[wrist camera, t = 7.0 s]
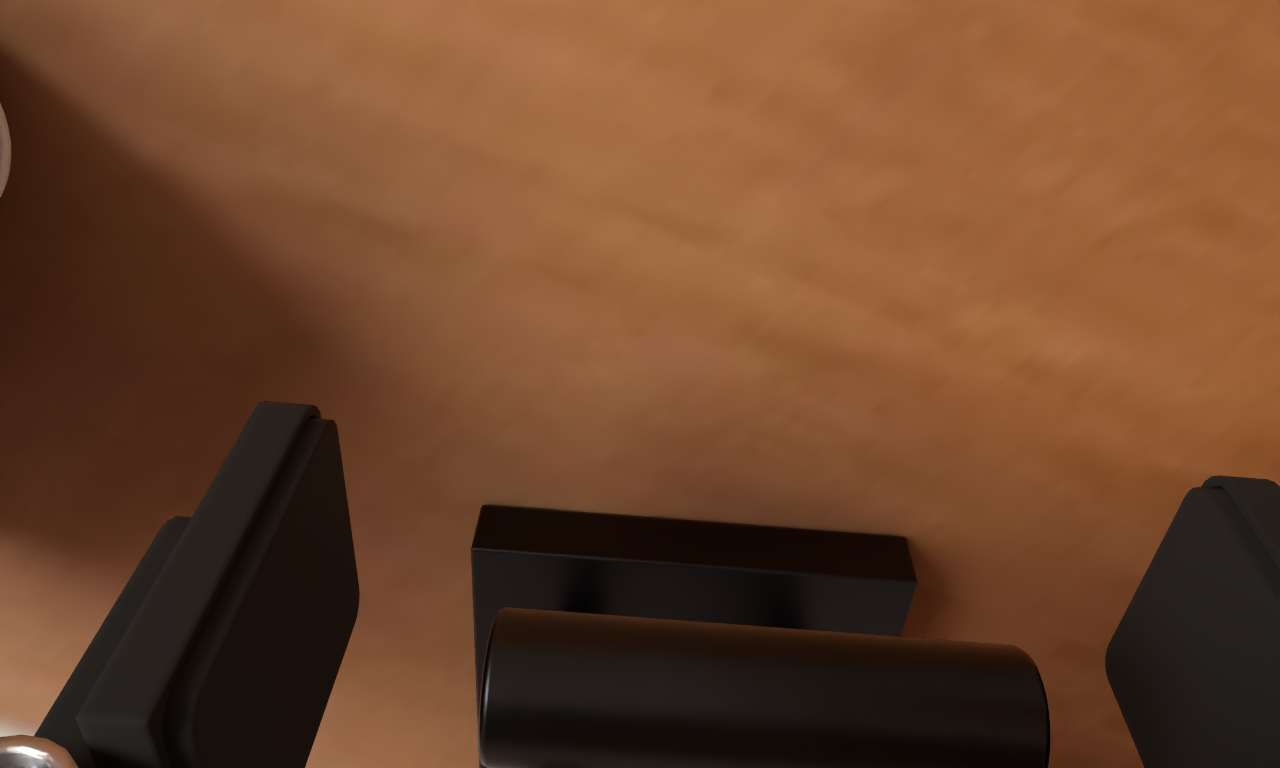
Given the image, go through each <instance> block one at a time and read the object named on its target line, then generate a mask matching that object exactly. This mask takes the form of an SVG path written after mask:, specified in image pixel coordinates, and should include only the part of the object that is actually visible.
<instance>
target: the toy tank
mask: <svg viewBox="0 0 1280 768" xmlns="http://www.w3.org/2000/svg"><path fill="white" fill-rule="evenodd" d="M10 166H11V140H10V133H9V128H8V124H7V120H6V117H5V113H4V111H3V108H2V105H1V103H0V197H1V195H2V193H3V191H4V189H5V186H6V183H7V180H8V176H9V172H10Z"/></svg>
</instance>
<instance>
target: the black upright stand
mask: <svg viewBox="0 0 1280 768" xmlns="http://www.w3.org/2000/svg"><path fill="white" fill-rule="evenodd" d="M471 562H472V588H473V614H474V640H475V666H476V691H477V717H478V715H479V702H480V691H481V682H482V674H483V667H484V660H485V654H486V648H487V643H488V638H489V633H490V629H491V626H492V623H493V620H494V618H495V616H496V614H497V612H498V610H500V609H503V608H506V607H509V608H523V609H536V610H549V611H563V612H576V613H590V614H603V615H616V616H630V617H643V618H656V619H670V620H683V621H696V622H710V623H723V624H736V625H750V626H763V627H777V628H790V629H803V630H817V631H830V632H843V633H857V634H870V635H883V636H897V637H900V636H901V633H902V630H903V627H904V624H905V621H906V618H907V615H908V612H909V608H910V605H911V602H912V599H913V596H914V593H915V590H916V587H917V584H918V581H917V577H916V573H915V569H914V565H913V562H912V558H911V554H910V550H909V546H908V542H907V539H906V538H905V537H899V536H886V535H873V534H859V533H846V532H833V531H820V530H807V529H794V528H780V527H767V526H754V525H741V524H728V523H715V522H701V521H688V520H675V519H662V518H649V517H635V516H622V515H609V514H596V513H583V512H570V511H556V510H543V509H530V508H517V507H504V506H491V505H483V506H482V507H481V510H480V514H479V518H478V522H477V526H476V530H475V534H474V538H473V543H472V547H471ZM479 768H487V767H486V766H484V765H482V764H481V761H480V757H479Z"/></svg>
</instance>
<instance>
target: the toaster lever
mask: <svg viewBox="0 0 1280 768" xmlns="http://www.w3.org/2000/svg"><path fill="white" fill-rule="evenodd" d="M478 752H479V757H480V761H481V764H482V765H484V766H486V767H487V768H1048V763H1049V755H1050V719H1049V710H1048V703H1047V698H1046V693H1045V689H1044V685H1043V682H1042V679H1041V676H1040V673H1039V671H1038V669H1037V666H1036V665H1035V663H1034V661H1033V660H1032V658H1031V657H1030V655H1029V654H1027V653H1026V652H1025V651H1024V650H1022V649H1020V648H1018V647H1016V646H1013V645H1004V644H990V643H977V642H963V641H950V640H937V639H923V638H910V637H897V636H883V635H870V634H857V633H843V632H830V631H817V630H803V629H790V628H777V627H763V626H750V625H736V624H723V623H710V622H696V621H683V620H670V619H656V618H643V617H630V616H616V615H603V614H590V613H576V612H563V611H549V610H536V609H523V608H509V607H506V608H503V609H500V610H498V612H497V614H496V616H495V618H494V620H493V623H492V626H491V629H490V633H489V638H488V643H487V648H486V654H485V660H484V667H483V674H482V682H481V691H480V702H479V715H478Z"/></svg>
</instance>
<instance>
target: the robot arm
mask: <svg viewBox="0 0 1280 768" xmlns="http://www.w3.org/2000/svg"><path fill="white" fill-rule="evenodd" d="M358 607H359V583H358V576H357V568H356V561H355V554H354V546H353V539H352V532H351V524H350V517H349V510H348V502H347V495H346V488H345V480H344V473H343V466H342V458H341V451H340V444H339V436H338V430H337V425H336V423H335V421H333V420H327V419H321V415H320V411H319V410H318V408H317V407H316V406H314V405H306V404H293V403H280V402H267V401H264V402H261V403H259V405H258V406H257V407H256V409H255V410H254V412H253V413H252V415H251V417H250V419H249V420H248V422H247V424H246V425H245V427H244V429H243V431H242V432H241V434H240V436H239V437H238V439H237V441H236V443H235V444H234V446H233V448H232V449H231V451H230V453H229V455H228V456H227V458H226V460H225V462H224V463H223V465H222V467H221V468H220V470H219V472H218V474H217V475H216V477H215V479H214V480H213V482H212V484H211V486H210V487H209V489H208V491H207V492H206V494H205V496H204V498H203V499H202V501H201V503H200V504H199V506H198V508H197V510H196V511H195V513H194V515H193V516H192V517H181V516H175V517H174V518H172V519H170V520H169V521H167V522H166V523H165V525H164V526H163V527H162V529H161V530H160V531H159V532H158V534H157V536H156V537H155V539H154V540H153V542H152V544H151V545H150V547H149V549H148V550H147V552H146V554H145V555H144V557H143V558H142V560H141V562H140V563H139V565H138V567H137V568H136V570H135V572H134V573H133V575H132V577H131V578H130V580H129V581H128V583H127V585H126V586H125V588H124V590H123V591H122V593H121V595H120V596H119V598H118V599H117V601H116V603H115V604H114V606H113V608H112V609H111V611H110V613H109V614H108V616H107V617H106V619H105V621H104V622H103V624H102V626H101V627H100V629H99V631H98V632H97V634H96V635H95V637H94V639H93V640H92V642H91V644H90V645H89V647H88V649H87V650H86V652H85V653H84V655H83V657H82V658H81V660H80V662H79V663H78V665H77V667H76V668H75V670H74V671H73V673H72V675H71V676H70V678H69V680H68V681H67V683H66V685H65V686H64V688H63V689H62V691H61V693H60V694H59V696H58V698H57V699H56V701H55V703H54V704H53V706H52V707H51V709H50V711H49V712H48V714H47V716H46V717H45V719H44V721H43V722H42V724H41V725H40V727H39V729H38V730H37V732H36V734H35V735H34V737H33V736H27V735H16V736H7V737H0V768H305V766H306V763H307V760H308V757H309V754H310V751H311V748H312V746H313V743H314V740H315V737H316V734H317V731H318V728H319V725H320V723H321V720H322V717H323V714H324V711H325V708H326V705H327V702H328V699H329V697H330V694H331V691H332V688H333V685H334V682H335V679H336V676H337V674H338V671H339V668H340V665H341V662H342V659H343V656H344V653H345V651H346V648H347V645H348V642H349V639H350V636H351V633H352V630H353V628H354V625H355V621H356V618H357V613H358ZM1105 667H1106V674H1107V677H1108V680H1109V683H1110V686H1111V688H1112V690H1113V693H1114V695H1115V698H1116V700H1117V702H1118V705H1119V707H1120V710H1121V712H1122V714H1123V717H1124V719H1125V722H1126V724H1127V726H1128V729H1129V731H1130V734H1131V736H1132V738H1133V741H1134V743H1135V746H1136V748H1137V750H1138V753H1139V755H1140V758H1141V760H1142V763H1143V765H1144V767H1145V768H1280V487H1279V486H1278V485H1277V484H1276V483H1275V482H1273V481H1270V480H1268V479H1256V478H1243V477H1230V476H1212V477H1210V478H1209V479H1208V480H1206V481H1205V482H1204V484H1203V485H1202V486H1201V487H1197V488H1193V489H1191V490H1190V491H1189V492H1188V493H1187V495H1186V496H1185V498H1184V500H1183V502H1182V504H1181V506H1180V508H1179V509H1178V511H1177V513H1176V515H1175V517H1174V519H1173V521H1172V523H1171V525H1170V527H1169V529H1168V531H1167V533H1166V535H1165V537H1164V539H1163V540H1162V542H1161V544H1160V546H1159V548H1158V550H1157V552H1156V554H1155V556H1154V558H1153V560H1152V562H1151V564H1150V566H1149V568H1148V569H1147V571H1146V573H1145V575H1144V577H1143V579H1142V581H1141V583H1140V585H1139V587H1138V589H1137V591H1136V593H1135V595H1134V597H1133V598H1132V600H1131V602H1130V604H1129V606H1128V608H1127V610H1126V612H1125V614H1124V616H1123V618H1122V620H1121V622H1120V624H1119V626H1118V628H1117V629H1116V631H1115V633H1114V635H1113V637H1112V639H1111V641H1110V643H1109V645H1108V648H1107V651H1106V657H1105Z"/></svg>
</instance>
